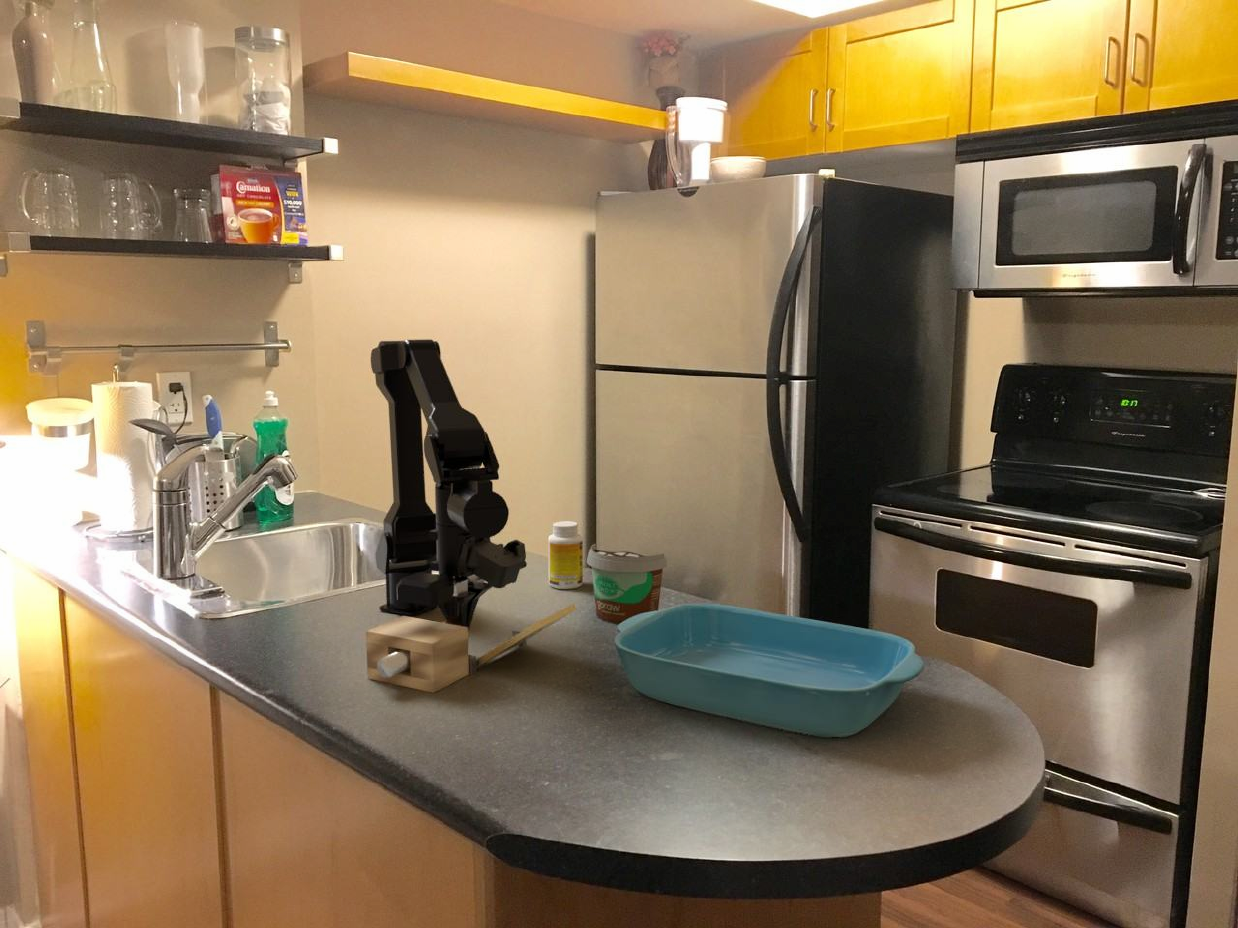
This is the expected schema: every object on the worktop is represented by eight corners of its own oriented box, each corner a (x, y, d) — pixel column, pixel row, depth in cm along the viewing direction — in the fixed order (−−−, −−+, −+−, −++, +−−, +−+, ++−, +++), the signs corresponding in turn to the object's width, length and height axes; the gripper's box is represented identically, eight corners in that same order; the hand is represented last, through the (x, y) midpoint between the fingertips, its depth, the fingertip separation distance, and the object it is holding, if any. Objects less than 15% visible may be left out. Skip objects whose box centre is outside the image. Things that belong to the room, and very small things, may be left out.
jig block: (367, 678, 128) (365, 630, 127) (404, 660, 135) (403, 615, 134) (433, 692, 124) (432, 643, 123) (468, 674, 130) (467, 627, 129)
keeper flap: (474, 668, 131) (470, 663, 132) (517, 645, 140) (515, 640, 140) (534, 630, 126) (531, 624, 126) (576, 609, 135) (573, 603, 135)
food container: (571, 619, 152) (571, 551, 151) (592, 608, 158) (592, 543, 156) (647, 632, 147) (648, 562, 145) (666, 620, 152) (667, 552, 150)
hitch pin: (371, 682, 125) (369, 646, 124) (438, 650, 136) (437, 617, 135) (400, 689, 123) (399, 652, 122) (466, 655, 134) (465, 622, 133)
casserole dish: (577, 695, 124) (577, 636, 123) (670, 642, 143) (671, 592, 142) (884, 769, 105) (887, 701, 104) (945, 698, 124) (948, 639, 122)
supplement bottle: (585, 589, 168) (585, 526, 166) (551, 591, 167) (550, 528, 165) (579, 580, 173) (579, 519, 172) (545, 581, 172) (545, 520, 170)
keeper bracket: (461, 671, 131) (460, 656, 130) (516, 642, 142) (516, 628, 141) (471, 673, 130) (471, 658, 130) (526, 644, 141) (526, 630, 141)
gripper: (467, 544, 122) (470, 672, 125) (550, 514, 139) (551, 628, 141) (391, 534, 127) (395, 657, 130) (480, 506, 144) (482, 617, 146)
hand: (461, 639), depth 137 cm, fingers closed
